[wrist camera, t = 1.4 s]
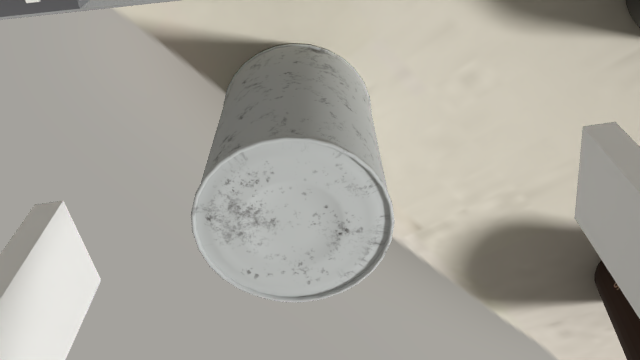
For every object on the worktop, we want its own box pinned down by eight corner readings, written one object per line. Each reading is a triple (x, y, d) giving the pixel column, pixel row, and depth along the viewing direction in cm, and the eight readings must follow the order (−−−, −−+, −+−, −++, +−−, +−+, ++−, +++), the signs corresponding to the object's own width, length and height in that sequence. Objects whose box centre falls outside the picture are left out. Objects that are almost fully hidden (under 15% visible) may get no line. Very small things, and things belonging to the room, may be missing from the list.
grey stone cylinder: (303, 10, 35) (299, 95, 24) (400, 120, 38) (434, 234, 28) (192, 109, 38) (147, 221, 27) (293, 200, 42) (287, 330, 31)
